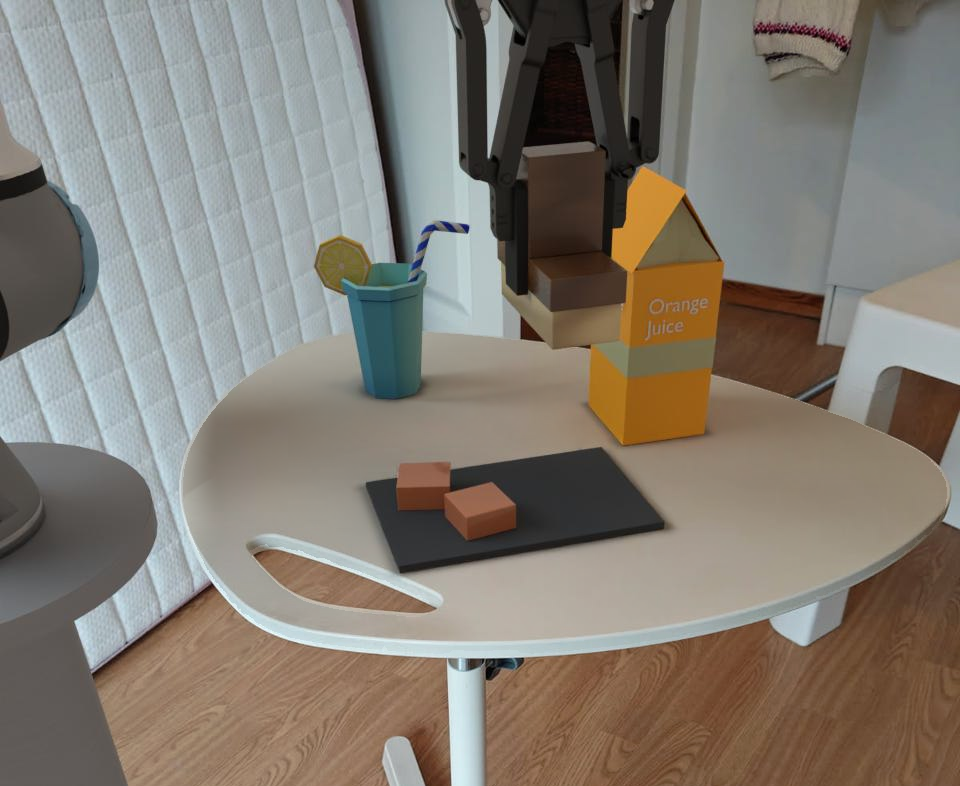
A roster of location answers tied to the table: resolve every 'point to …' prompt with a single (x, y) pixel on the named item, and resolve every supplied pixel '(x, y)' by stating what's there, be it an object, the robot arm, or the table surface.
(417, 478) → the clay chunk
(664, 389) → the orange juice
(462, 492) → the clay chunk
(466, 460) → the table surface
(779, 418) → the table surface
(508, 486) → the mat
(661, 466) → the table surface
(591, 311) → the three-tone stepped block
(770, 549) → the table surface
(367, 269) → the cup
